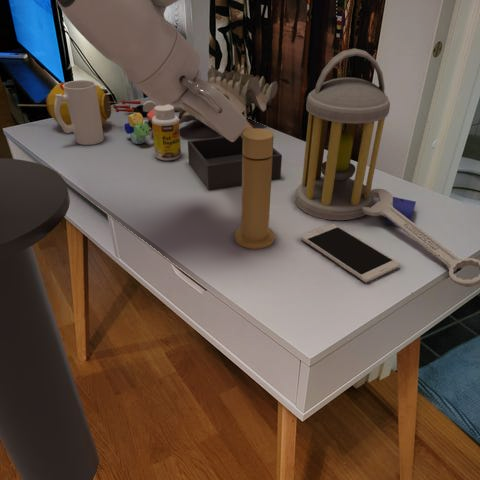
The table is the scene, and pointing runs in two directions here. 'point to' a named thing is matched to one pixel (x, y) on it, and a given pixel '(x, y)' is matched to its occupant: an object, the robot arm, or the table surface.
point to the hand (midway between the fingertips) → (229, 133)
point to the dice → (137, 128)
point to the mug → (81, 111)
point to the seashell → (238, 91)
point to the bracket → (402, 208)
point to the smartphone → (350, 252)
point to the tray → (223, 161)
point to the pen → (176, 108)
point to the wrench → (420, 236)
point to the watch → (145, 108)
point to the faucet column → (255, 204)
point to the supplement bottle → (166, 133)
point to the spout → (257, 142)
